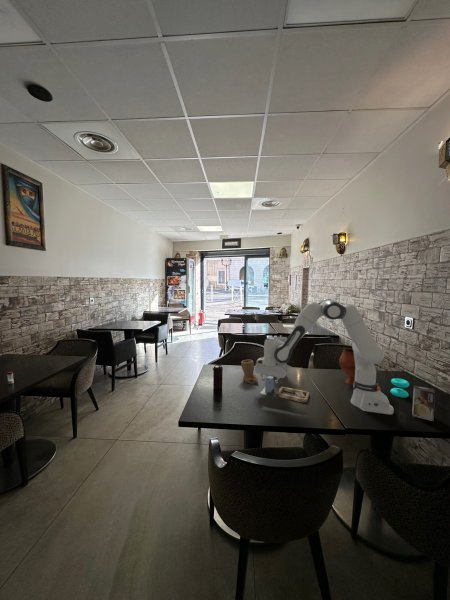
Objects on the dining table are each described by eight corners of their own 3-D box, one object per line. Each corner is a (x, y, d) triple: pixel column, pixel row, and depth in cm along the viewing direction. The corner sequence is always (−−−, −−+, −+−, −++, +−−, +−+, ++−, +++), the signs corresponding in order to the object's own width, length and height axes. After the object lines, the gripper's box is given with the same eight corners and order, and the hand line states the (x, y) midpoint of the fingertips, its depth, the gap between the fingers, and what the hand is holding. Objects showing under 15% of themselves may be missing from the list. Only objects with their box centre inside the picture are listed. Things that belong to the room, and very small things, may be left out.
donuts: (410, 380, 168) (407, 384, 161) (409, 395, 169) (406, 400, 162) (393, 376, 175) (389, 380, 168) (392, 390, 176) (388, 394, 169)
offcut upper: (302, 395, 162) (302, 392, 162) (305, 399, 156) (305, 396, 156) (295, 395, 162) (295, 392, 162) (297, 399, 156) (298, 396, 156)
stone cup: (240, 376, 195) (240, 357, 194) (255, 376, 196) (256, 357, 195) (241, 384, 180) (242, 363, 179) (258, 384, 181) (259, 364, 179)
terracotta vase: (371, 390, 176) (373, 355, 174) (342, 387, 179) (344, 353, 177) (361, 379, 194) (363, 347, 193) (335, 377, 198) (337, 346, 196)
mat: (278, 390, 172) (278, 389, 172) (273, 397, 161) (273, 396, 161) (265, 387, 176) (265, 386, 176) (259, 393, 165) (259, 393, 165)
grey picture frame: (432, 416, 142) (434, 388, 141) (433, 421, 136) (435, 393, 135) (411, 411, 147) (413, 384, 146) (412, 416, 142) (414, 388, 140)
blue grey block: (273, 389, 171) (273, 376, 170) (270, 393, 165) (270, 380, 164) (268, 388, 173) (268, 375, 172) (265, 392, 166) (265, 379, 166)
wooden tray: (309, 397, 162) (309, 392, 162) (306, 405, 151) (306, 399, 151) (281, 391, 170) (281, 386, 170) (276, 398, 159) (276, 393, 159)
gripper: (287, 362, 165) (286, 383, 166) (257, 357, 175) (256, 377, 176) (284, 365, 160) (283, 386, 161) (254, 360, 169) (253, 380, 170)
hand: (269, 381), depth 168 cm, fingers open, 8 cm apart
